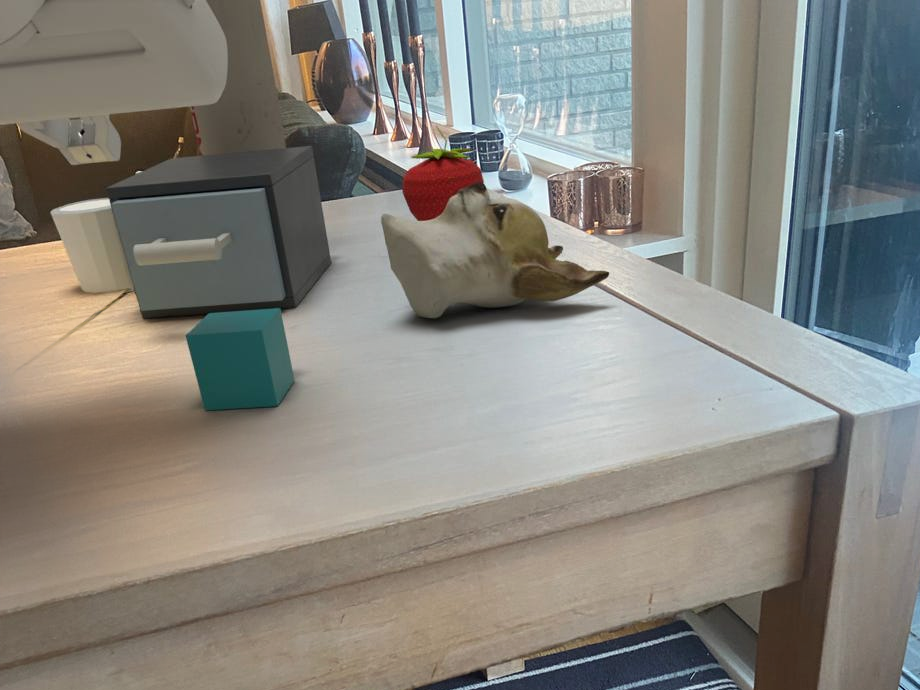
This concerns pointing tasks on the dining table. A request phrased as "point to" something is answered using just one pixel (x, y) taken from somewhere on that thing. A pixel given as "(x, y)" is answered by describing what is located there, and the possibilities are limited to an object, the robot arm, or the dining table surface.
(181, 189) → the drawer cabinet
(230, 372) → the teal matte cube
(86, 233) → the white tapered cup
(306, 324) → the dining table surface
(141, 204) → the grey drawer
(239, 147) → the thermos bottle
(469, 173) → the strawberry
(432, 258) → the ceramic sculpture
